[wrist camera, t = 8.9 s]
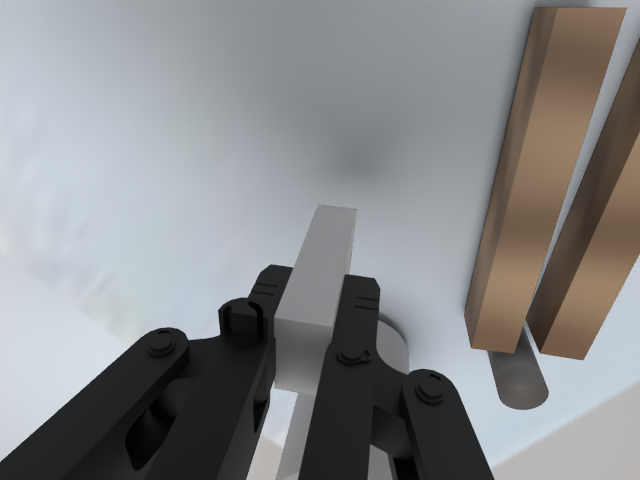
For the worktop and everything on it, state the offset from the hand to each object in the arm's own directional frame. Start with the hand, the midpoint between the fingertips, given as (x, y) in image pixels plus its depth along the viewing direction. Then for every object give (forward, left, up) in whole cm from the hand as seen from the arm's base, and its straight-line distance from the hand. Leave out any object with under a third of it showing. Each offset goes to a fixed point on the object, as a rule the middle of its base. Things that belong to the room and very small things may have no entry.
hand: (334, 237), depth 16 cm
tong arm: (-1, +8, -6) cm, 10 cm away
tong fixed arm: (+1, +11, -6) cm, 13 cm away
